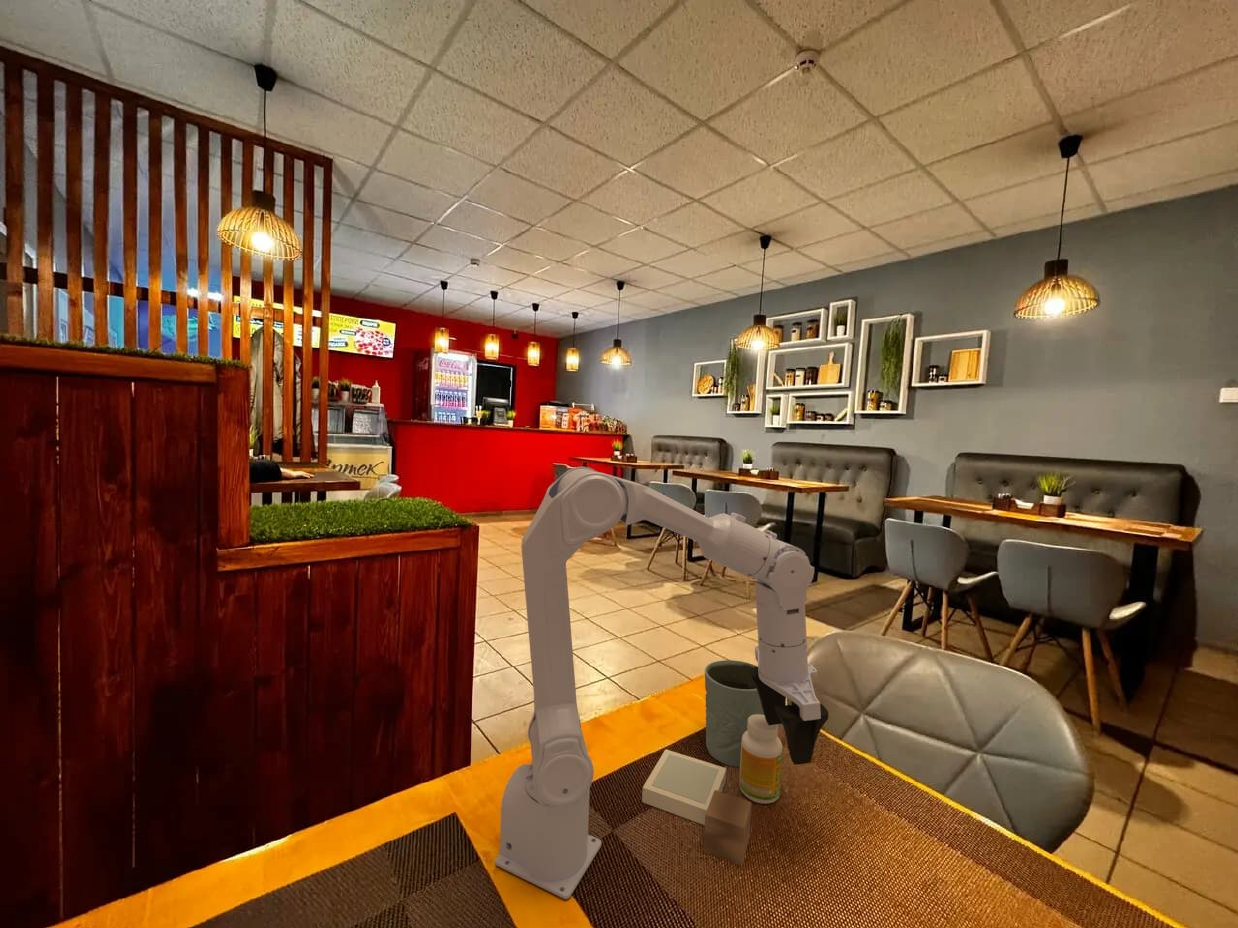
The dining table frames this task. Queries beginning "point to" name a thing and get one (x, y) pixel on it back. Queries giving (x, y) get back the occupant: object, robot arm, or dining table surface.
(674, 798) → the tile base
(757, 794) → the supplement bottle
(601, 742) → the dining table surface
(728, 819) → the walnut block
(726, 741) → the green plant pot
